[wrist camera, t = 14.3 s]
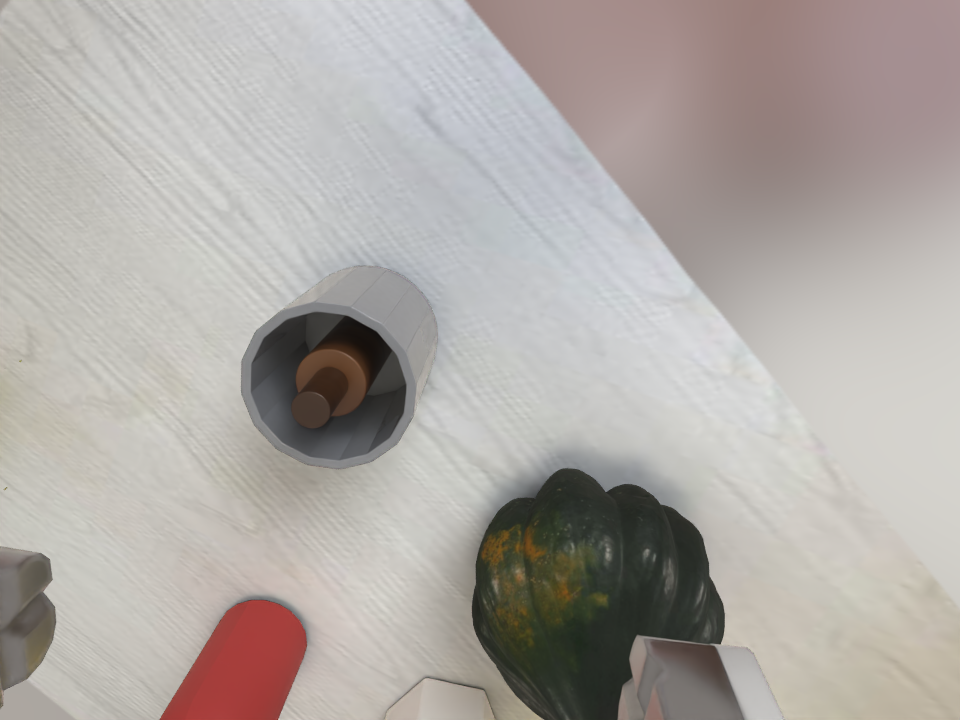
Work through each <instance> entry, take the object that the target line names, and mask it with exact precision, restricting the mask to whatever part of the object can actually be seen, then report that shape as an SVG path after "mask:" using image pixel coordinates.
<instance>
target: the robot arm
mask: <svg viewBox="0 0 960 720" xmlns="http://www.w3.org/2000/svg"><path fill="white" fill-rule="evenodd" d="M52 580H53V579H52V572H51V564H50V559H49V558H47V557H46V556H44V555H43V554H41V553H38V552H32V551H25V550H19V549H13V548H7V547H1V546H0V708H1V707H2V706H3V692H4V690H6V689H7V688H10V687H12V686H14V685H16V684H18V683H20V682H22V681H24V680H26V679H28V677H29V676H30V675H31V674H32V673H33V672H34V671H35V669H36V668H37V667H38V666H39V665H40V664H41V662H42V661H43V659H44V657H45V655H46V653H47V651H48V649H49V647H50V645H51V643H52V641H53V636H54V631H55V625H56V614H55V606H54V605H53V604H52V603H51V601H50V600H49V599H48V598H47V596H46V595H45V594H44V593H43V591H44V590H45V588H46V587H47V586H48V585H49V583H50V582H51V581H52ZM629 661H630V665H631V670H632V675H633V677H632V678H631V679H630V680H629V681H627V682H626V683H625V684H624V685H623V687H622V692H621V697H620V702H619V709H618V720H785V718H784V716H783V714H782V712H781V710H780V708H779V706H778V703H777V701H776V699H775V697H774V695H773V693H772V691H771V689H770V687H769V684H768V682H767V680H766V678H765V676H764V674H763V672H762V670H761V668H760V665H759V663H758V661H757V659H756V657H755V655H754V653H753V652H752V651H751V650H750V649H748V648H747V647H738V646H729V645H720V644H710V645H708V644H702V643H694V642H687V641H679V640H672V639H664V638H656V637H649V636H641V635H637V637H636V639H635V640H634V642H633V645H632V649H631V653H630V657H629Z"/></svg>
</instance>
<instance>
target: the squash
mask: <svg viewBox="0 0 960 720" xmlns="http://www.w3.org/2000/svg"><path fill="white" fill-rule="evenodd" d="M472 617H473V626H474V629H475V632H476V635H477V637H478V639H479V641H480V643H481V645H482V647H483V648H484V650H485V651H486V653H487V654H488V656H489V657H490V659H491V660H492V661H493V662H494V663H495V664H496V667H497V668H498V670H499V671H500V673H501V675H502V676H503V678H504V680H505V681H506V683H507V684H508V686H509V687H510V688H511V690H512V691H513V692H514V693H515V695H516V696H517V697H518V698H519V699H520V700H521V701H522V702H523V703H524V704H525V705H526V706H528V707H529V708H530V709H531V710H532V711H533V712H535V713H536V714H537V715H538V716H540V717H541V718H543V719H544V720H618V709H619V702H620V697H621V692H622V687H623V685H624V684H625V683H626V682H627V681H629V680H630V679H631V678H632V677H633V675H632V670H631V665H630V661H629V657H630V653H631V649H632V645H633V642H634V640H635V639H636V637H637V635H641V636H649V637H656V638H664V639H672V640H679V641H687V642H694V643H702V644H708V645H710V644H721V642H722V639H723V635H724V628H725V613H724V607H723V603H722V601H721V598H720V596H719V594H718V592H717V591H716V588H715V585H714V583H713V581H712V580H711V578H710V576H709V562H708V558H707V554H706V551H705V546H704V542H703V538H702V536H701V534H700V532H699V531H698V530H697V528H696V527H695V526H694V525H693V524H692V523H691V522H690V521H688V520H687V519H685V518H684V517H683V516H681V515H680V514H679V513H678V512H677V511H676V510H674V509H673V508H671V507H668V506H665V505H660V503H659V502H658V501H657V499H656V498H655V497H654V496H653V495H652V494H650V493H649V492H647V491H646V490H644V489H643V488H641V487H639V486H636V485H632V484H624V485H619V486H617V487H614V488H612V489H611V490H609V491H608V492H605V491H604V490H603V488H602V487H601V486H600V485H599V483H598V482H597V481H596V480H595V479H593V478H592V477H591V476H589V475H587V474H585V473H584V472H582V471H580V470H577V469H569V468H565V469H560V470H559V471H557V472H555V473H554V474H553V475H552V476H551V477H550V478H549V479H548V480H547V481H546V482H545V484H544V485H543V487H542V488H541V490H540V491H539V493H538V495H537V497H536V499H534V498H517V499H514V500H512V501H510V502H509V503H507V504H506V505H505V506H503V507H502V508H501V509H500V510H499V511H498V513H497V514H496V516H495V517H494V519H493V520H492V522H491V523H490V525H489V527H488V529H487V530H486V533H485V535H484V537H483V540H482V542H481V545H480V548H479V552H478V556H477V561H476V586H475V589H474V594H473V600H472Z"/></svg>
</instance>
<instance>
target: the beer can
mask: <svg viewBox="0 0 960 720" xmlns="http://www.w3.org/2000/svg"><path fill="white" fill-rule="evenodd" d="M306 647H307V641H306V633H305V630H304V628H303V626H302V624H301V622H300V620H299V619H298V618H297V617H296V616H295V615H294V614H293V613H292V612H291V611H290V610H288V609H286V608H285V607H283V606H281V605H280V604H277V603H274V602H270V601H267V600H250V601H246V602H242V603H239V604H237V605H235V606H234V607H232V608H231V609H229V610H228V611H227V612H226V613H225V615H224V616H223V618H222V619H221V620H220V622H219V624H218V625H217V627H216V628H215V630H214V632H213V633H212V635H211V637H210V638H209V640H208V641H207V643H206V645H205V646H204V648H203V650H202V651H201V653H200V654H199V656H198V658H197V659H196V661H195V663H194V664H193V666H192V667H191V669H190V671H189V672H188V674H187V676H186V677H185V679H184V680H183V682H182V684H181V685H180V687H179V689H178V690H177V692H176V693H175V695H174V697H173V698H172V700H171V702H170V703H169V705H168V706H167V708H166V710H165V711H164V713H163V715H162V716H161V718H160V719H159V720H278V718H279V716H280V713H281V711H282V708H283V706H284V704H285V701H286V699H287V696H288V694H289V691H290V689H291V687H292V684H293V682H294V679H295V677H296V674H297V672H298V670H299V667H300V665H301V662H302V660H303V657H304V654H305V651H306Z"/></svg>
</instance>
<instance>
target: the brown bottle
mask: <svg viewBox="0 0 960 720" xmlns="http://www.w3.org/2000/svg"><path fill="white" fill-rule="evenodd" d="M391 352H392V349H391V348H390V347H389V346H388V344H387V343H386V342H385V341H384V340H383V338H382V337H381V336H380V335H379V334H378V333H377V331H375V330H373V329H371V328H369V327H367V326H366V325H364V324H362V323H360V322H358V321H357V320H355V319H353V318H351V317H349V316H344V317H343V319H342V320H341V321H340V322H339V323H338V324H337V325H336V326H335V327H334V328H333V329H332V330H331V331H330V332H329V333H328V334H327V335H326V336H325V337H324V338H323V339H322V340H321V341H320V342H319V343H318V344H317V345H316V347H315V348H314V349H313V350H312V351H311V352H310V353H309V354H308V355H307V356H306V357H305V358H304V359H303V360H302V361H301V363H300V365H299V366H298V369H297V372H296V387H297V391H298V394H297V396H296V397H295V398H294V399H293V401H292V404H291V412H292V415H293V417H294V419H295V420H296V421H297V422H298V423H299V424H300V425H302V426H304V427H307V428H319V427H321V426H323V425H324V424H326V422H327V421H328V420H329V418H330V417H331V416H342V415H346V414H348V413H351V412H352V411H354V410H355V409H356V408H358V407H359V405H360V404H361V403H362V401H363V400H364V398H365V396H366V395H367V393H368V391H369V389H370V388H371V386H372V384H373V383H374V381H375V379H376V377H377V376H378V374H379V372H380V371H381V369H382V367H383V365H384V364H385V362H386V360H387V359H388V357H389V355H390V354H391Z"/></svg>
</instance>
